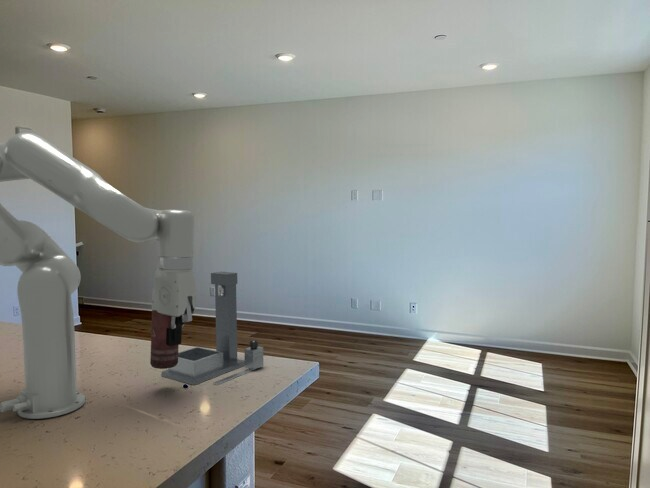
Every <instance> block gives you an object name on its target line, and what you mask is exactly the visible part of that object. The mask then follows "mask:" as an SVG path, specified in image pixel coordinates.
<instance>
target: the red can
mask: <svg viewBox="0 0 650 488" xmlns="http://www.w3.org/2000/svg"><path fill="white" fill-rule="evenodd" d="M177 319H178V318H177ZM171 320H172V316H168V315H163V314H160V313H158V312H157V311H156V310H152V309H151V328H150V329H151V332H150V359H149V360H150V362H149V363H150V366H151V367H152V368H154V369H157V370H158V369H160V370H162V369H163V370H168V368H172V367H175V366H176V365H177V363H178V352H179V345H180V344H178V345H174V346H169V345H166V331H167V328H171Z"/></svg>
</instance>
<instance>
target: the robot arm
mask: <svg viewBox="0 0 650 488" xmlns="http://www.w3.org/2000/svg"><path fill="white" fill-rule="evenodd" d="M29 179H30V180H32V181H33V182H35V183H37V184H38V185H40V186H42V187H44V188H45V189H46V190H48V191H50V192H51V193H53V194H55V196H57V197H58V198H61V199H63V200H64V201H65V202H67V203H69V204H70V205H71V206H73V207H74V208H75V209H76V210H77V209H78V211H81V212H82V213H85V214H86V215H87V216H89V217H90V218H92V219H93V220H95V221H96V222H98V223H100V225H103V227H106V228H107V229H109V230H111V231H112V232H114V233H116V234H117V235H119V236H120V237H122V238H124V239H126V240H127V241H130V242H134V243H142V242H146V241H149V240H151V241H152V240H158V256H157V259H158V261H157V269H156V270H155V273H154V278H153V283H152V293H151V311H152V310H156V311H157V312H158V313H160V314H163V315H168V316H172V320H171V328H167V331H166V345H169V346H174V345H178V344H179V345H180V344H182V336H183V335H182V334H183V333H182V331H183V330H182V328H183V327H184V326H185V324H186V323H188V322H192V321H193V314H194V313H195V311H196V295H197V294H196V282H195V280H196V279H195V275H194V274H195V273H194V271H193V270H194V268H193V267H194V265H193V264H194V242H195V241H194V236H195V215H194V213H193V212H192V211H190V210H186V209H163V210H161V209H154V208H149V207H145V206H143V205H142V204H140V203H139V202H136V201H135V200H134V199H131V198H130V197H128V196H127V195H126V194H124V193H123V192H121V191H119V190H118V189H116V188H115V187H114V186H112V185H111V184H109V182H107V181H106V180H105V179H103V177H102V176H101V175H100V174H99V173H98V172H96V171H95V170H94V169H92V168H90V167H89V166H88V165H86V164H84V163H82V162H81V161H80V160H78V159H76V158H75V157H73V156H72V155H70V154H69V153H67V152H66V151H64V150H62V149H61V148H59V146H56V145H55V144H54V143H53V142H52V141H50V140H48V139H47V138H45V137H43V136H41V135H39V134H37V133H35V132H29V131H28V132H26V131H25V132H18V133H15V134H13V136H11V137H10V138H9V139H8V140H7V141H6V142H0V182H1V183H2V182H10V181H11V182H12V181H20V180H29ZM0 266H2V267H15V266H16V268H17V269H19V270H20V272H21V274H20V277H19V279H18V282H17V290H16V291H17V299H18V305H19V310H20V317H21V326H22V327H21V328H22V329H21V330H22V345H23V347H22V348H23V365H24V366H23V367H24V368H23V369H24V388H25V389H23V390H20V391H19V395H17V396H15V398H14V399H8V400H5V401H2V402H0V413H5V412H8V411H10V410H11V411H12V412H17V415H18V416H19V417H20V418H24V419H27V420H28V419H31V420H36V419H37V420H39V419H49V418H56V417H59V416H63V415H66V414H69V413H71V412H74V411H76V410H79V409H80V408H81V407H83V405H84V404H85V403H86V396H85V394H84V393H82V392H78V386H77V383H78V382H77V359H76V356H77V355H76V335H75V334H76V333H75V318H74V317H75V316H74V309H73V308H74V307H73V303H72V302H73V301H72V294H74V293H75V292H76V290H77V289H78V288H79V286H80V284H81V280H82V279H81V278H82V275H81V271H80V268H79V267H78V265H77V264H76V263H75V261H74V260H73V259H72V258H71V257H70V256H69V255H68V254H67V253H66V251H64V250H63V249H62V248H61V247H60V246H59V244H58V243H57V242H56V241H55V240H54V239H53V238H52V237H51V236H50V235H49V234H48V233H47V232H46V231H45V230H43V228H41V227H40V226H39V225H37V224H35V223H33V222H31V221H27V220H19V219H17V218H16V217H14V215H12V213H11V212H10V211H8V209H6V207H4V206H3V205H2V203H1V202H0ZM177 318H178V319H177Z"/></svg>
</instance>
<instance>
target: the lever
mask: <svg viewBox="0 0 650 488" xmlns="http://www.w3.org/2000/svg"><path fill="white" fill-rule="evenodd" d="M248 345H249V347H246V348H244V361H245V366H244V368H245V369H253V371H255V370H257V369H256V368H258V369H260V368H261V367H264V346H259V341H258V340H257V339H251V340H250V341H249V344H248ZM259 367H260V368H259ZM254 369H255V370H254Z"/></svg>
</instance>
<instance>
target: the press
mask: <svg viewBox="0 0 650 488" xmlns="http://www.w3.org/2000/svg"><path fill="white" fill-rule="evenodd" d="M210 285H214V294H215V295H214V297H215V298H214V299H215V301H214V302H215V305H214V306H215V347H216V348H215V349H210V348H205V347H201V346H195V347H191V348H189V349H185V350H182V351H178V363H177V365H176V366H175V367H172V368H167V369H164V370H163V371H161V377H163V378H167V379H169V380H170V379H171V380H174V381H177V382H182V383H185V384H188V385H192V386H196V385H198V384H200V383H203V382H206V381H208V380H212V379H214V378H216V377H218V376H219V377H220V376H221V375H224V374H228V373H229V372H232V371H235V370H237V369H239V368H242V367H245V359H238V325H237V324H238V321H237V319H238V317H237V314H238V313H237V309H238V308H237V307H238V306H237V285H238V272H233V271H232V272H229V271H218V272H217V271H216V272H211V273H210ZM260 368H261V367H259V368H256V369H254V370H253V369H248V368H245V369H244V370H241V371H239V372H236V373H234V374H231V375H229V376H227V377H224V378H222V379H221V378H220V379H219V380H217V381H213V385H215V386H218V385H220V384H223V383H225V382H228V381H230V380H234V379H236V378H238V377H241V376H243V375H246V374H247V373H250V372H253V371H255V370H258V369H260Z"/></svg>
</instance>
